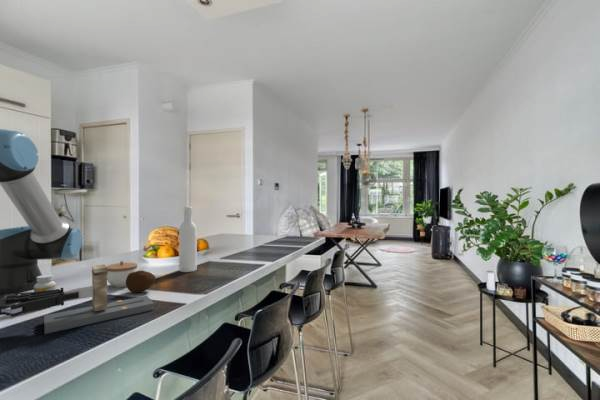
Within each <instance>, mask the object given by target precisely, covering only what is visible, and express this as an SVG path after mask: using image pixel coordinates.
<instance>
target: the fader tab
mask: <svg viewBox="0 0 600 400" xmlns="http://www.w3.org/2000/svg"><path fill="white" fill-rule="evenodd" d="M91 267H92V268H91V281H92V282H91V284H92V285H91V286H93V297H91V298H92V301H91V303H92V305H91V306H92V307H93V309H94V311H100V310H105V309H107V303H108V280H107V274H108V271H107V266H106V265H105V264H100V265H99V264H97V265H92V266H91Z"/></svg>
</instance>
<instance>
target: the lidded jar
mask: <svg viewBox="0 0 600 400" xmlns="http://www.w3.org/2000/svg"><path fill="white" fill-rule="evenodd" d="M106 267H107V271H108V274H107V283H108V284H110V285H111V286H112V287H113V288H124V287H126V279H127V276H128V275H129V273H132V272H136V271H138V263H135V262H124V260H121V261H119V262H117V263H113V264H110V265H109V264H108V265H107V266H106Z"/></svg>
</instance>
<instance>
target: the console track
mask: <svg viewBox="0 0 600 400" xmlns="http://www.w3.org/2000/svg"><path fill="white" fill-rule="evenodd" d="M153 310H155V302H154V301H153V300H152V299H151V298H150V297H149V296H148V295H143V296H142V295H141V296H138V297H133V298H128V299H123V300H122V299H120V300H116V301H112V302H107V309H105V310H100V311H94V309H93V307H92V305H90V306H85V307H81V308H76V309H71V310H66V311H65V310H64V311H61V312H55V313H50V314H46V315H45V314H44V316H43V318H44V319H43V320H44V321H43V322H44V323H43V324H44V325H43V326H44V335H47V334H51V333H55V332H56V333H57V332H60V331H64V330H65V331H66V330H69V329H74V328H77V327H82V326H86V325H92V324H96V323H101V322H104V321H109V320H113V319H118V318H123V317H127V316H132V315H136V314H141V313H144V312H149V311H153Z"/></svg>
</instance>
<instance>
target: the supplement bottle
mask: <svg viewBox="0 0 600 400" xmlns="http://www.w3.org/2000/svg"><path fill="white" fill-rule="evenodd" d="M37 282H38V283H36V284H35V285H34V289H33V292H38V291H47V290H56V289H57V283H56V281H54V275H53V274H42V276H38V277H37Z"/></svg>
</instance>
